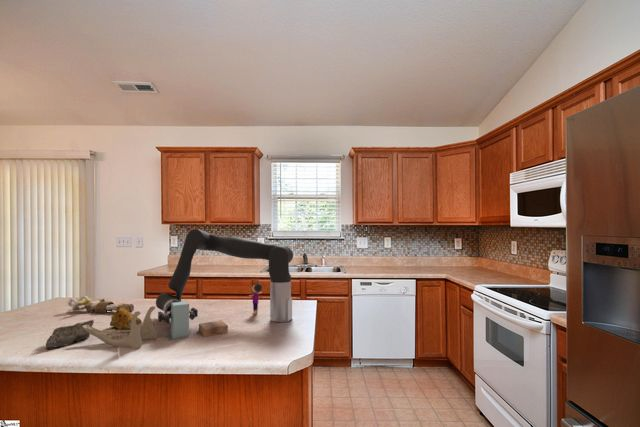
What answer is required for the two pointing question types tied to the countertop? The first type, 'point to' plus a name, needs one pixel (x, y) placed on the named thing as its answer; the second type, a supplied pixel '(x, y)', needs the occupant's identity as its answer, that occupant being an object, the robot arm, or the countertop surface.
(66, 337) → the rock
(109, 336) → the jawbone
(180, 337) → the gray tile
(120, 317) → the rock
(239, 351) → the countertop surface
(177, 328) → the block
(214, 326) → the stand
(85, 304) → the figurine
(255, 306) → the toy
